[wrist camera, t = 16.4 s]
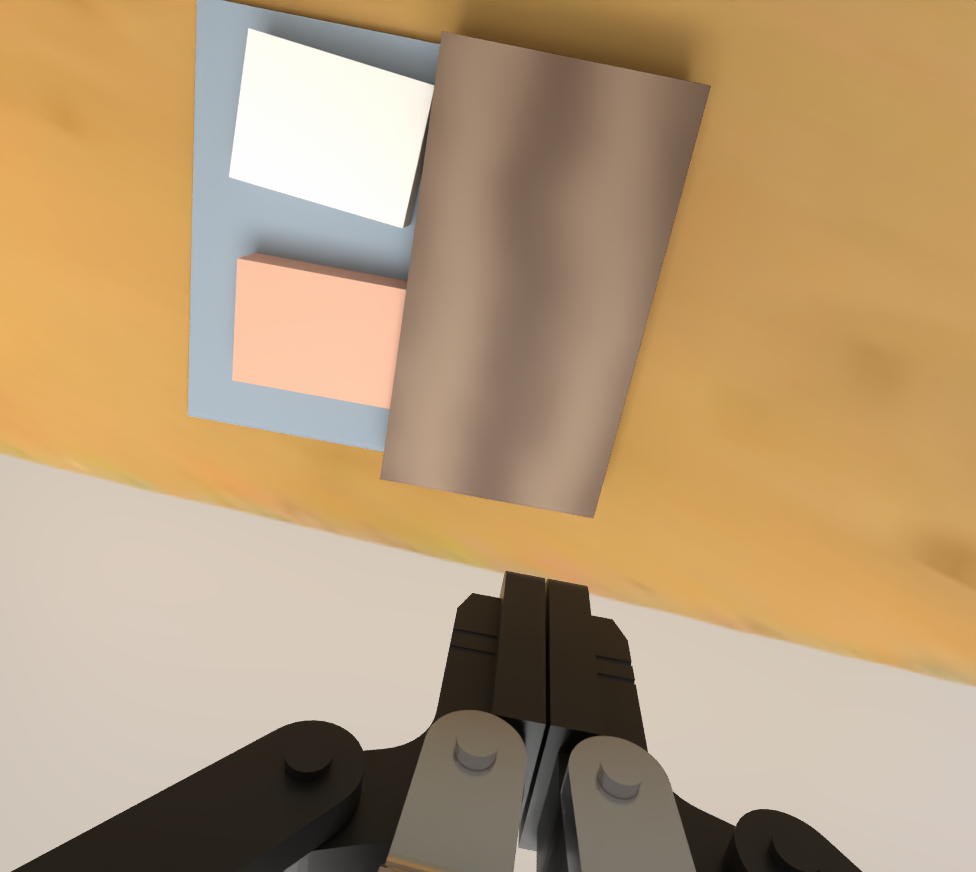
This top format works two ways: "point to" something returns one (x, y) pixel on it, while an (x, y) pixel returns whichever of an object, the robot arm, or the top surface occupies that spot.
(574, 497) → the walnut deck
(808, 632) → the top surface
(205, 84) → the slate mat
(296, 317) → the terracotta tile
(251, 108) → the cream tile
